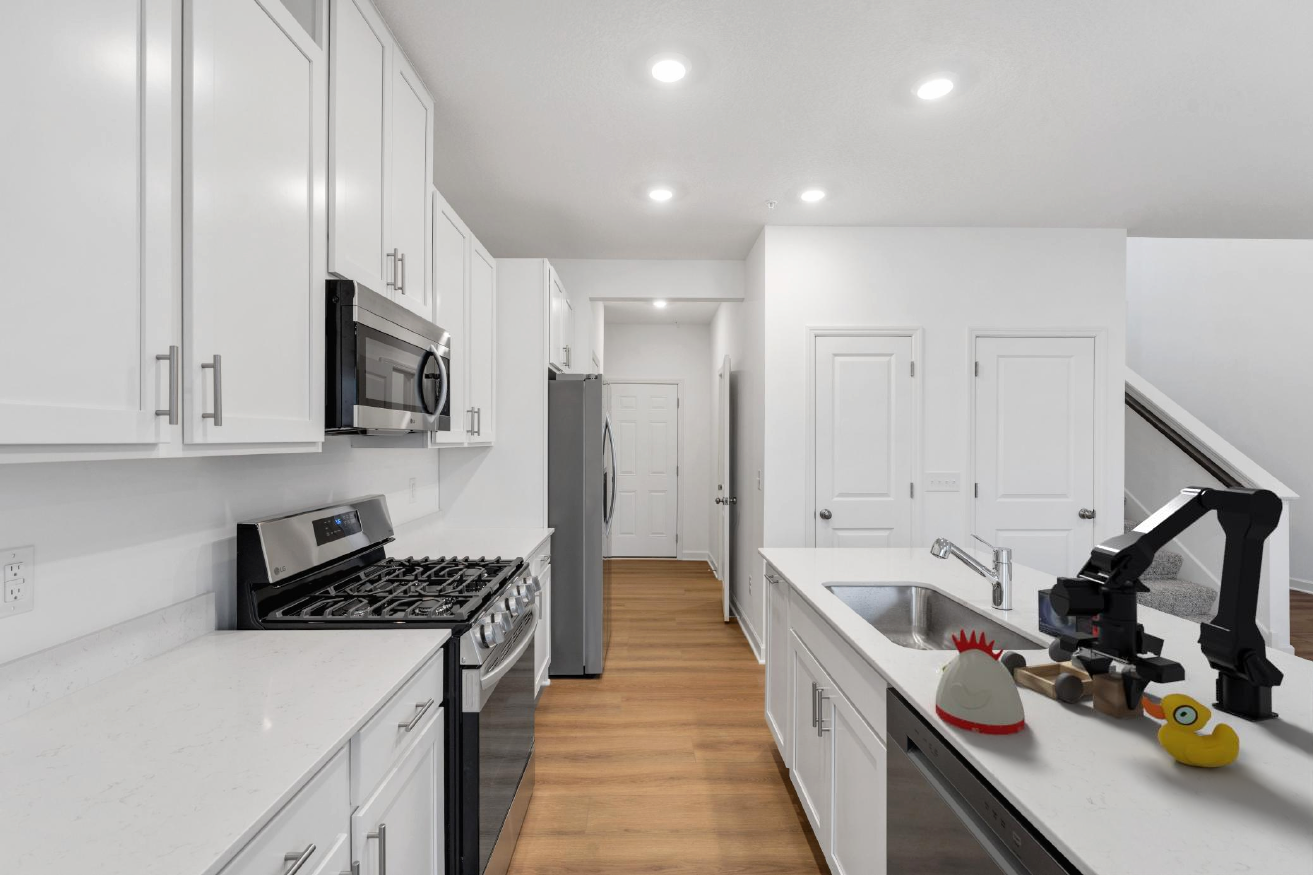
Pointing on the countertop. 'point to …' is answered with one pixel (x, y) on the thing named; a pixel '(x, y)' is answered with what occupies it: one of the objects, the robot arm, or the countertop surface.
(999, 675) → the kitchen timer
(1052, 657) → the wheel
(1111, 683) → the block
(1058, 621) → the small box
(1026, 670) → the chassis
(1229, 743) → the duckling
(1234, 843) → the countertop surface
